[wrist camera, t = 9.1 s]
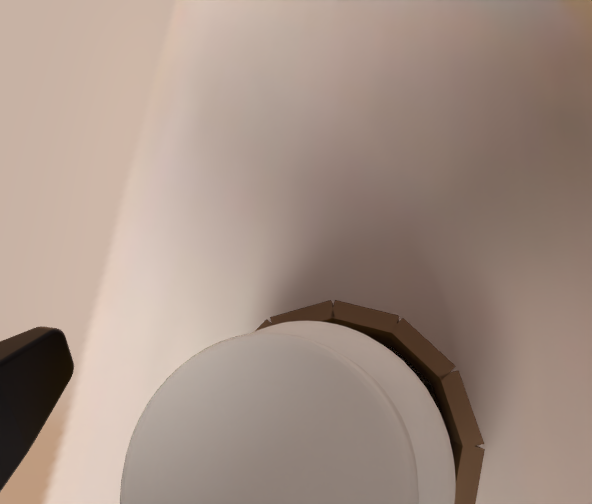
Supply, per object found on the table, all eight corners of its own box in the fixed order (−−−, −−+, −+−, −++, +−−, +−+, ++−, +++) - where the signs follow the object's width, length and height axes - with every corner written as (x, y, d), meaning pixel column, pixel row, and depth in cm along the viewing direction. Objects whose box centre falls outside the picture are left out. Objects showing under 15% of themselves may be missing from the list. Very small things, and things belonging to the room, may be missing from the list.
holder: (345, 627, 14) (333, 682, 11) (193, 430, 16) (151, 434, 13) (516, 441, 14) (545, 448, 12) (343, 280, 17) (332, 253, 14)
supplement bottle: (334, 323, 16) (257, 211, 7) (469, 438, 15) (591, 479, 5) (227, 448, 16) (-1, 494, 7) (353, 585, 14) (275, 906, 5)
